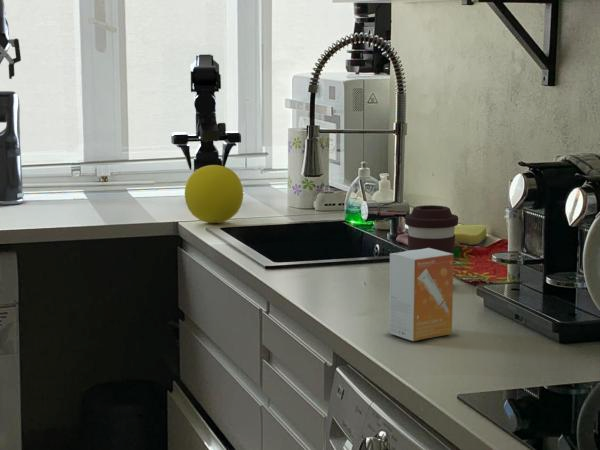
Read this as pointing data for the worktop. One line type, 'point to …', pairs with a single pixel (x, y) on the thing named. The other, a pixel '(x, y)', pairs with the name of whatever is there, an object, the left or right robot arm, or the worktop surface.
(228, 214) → the toy
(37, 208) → the worktop surface
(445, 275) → the small box
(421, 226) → the coffee cup
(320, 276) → the worktop surface
